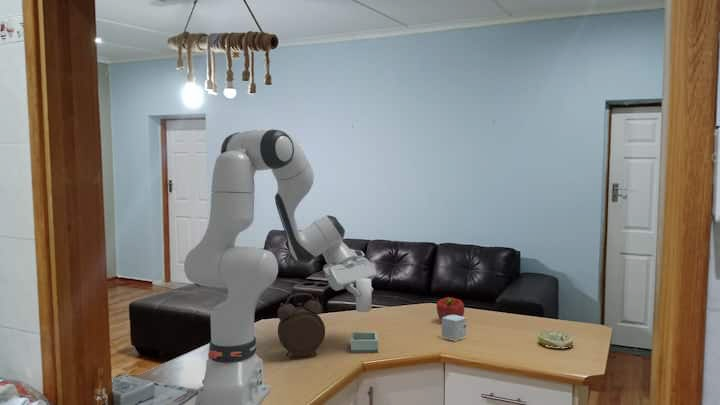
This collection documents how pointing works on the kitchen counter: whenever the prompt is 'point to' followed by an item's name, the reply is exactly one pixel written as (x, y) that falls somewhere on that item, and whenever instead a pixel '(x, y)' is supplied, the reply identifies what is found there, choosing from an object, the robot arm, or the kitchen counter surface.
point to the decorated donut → (555, 339)
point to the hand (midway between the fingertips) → (365, 294)
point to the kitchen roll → (363, 295)
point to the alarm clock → (301, 326)
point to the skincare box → (453, 327)
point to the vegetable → (450, 307)
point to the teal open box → (364, 342)
